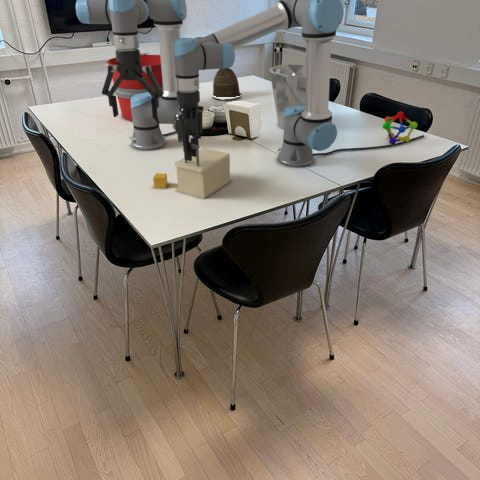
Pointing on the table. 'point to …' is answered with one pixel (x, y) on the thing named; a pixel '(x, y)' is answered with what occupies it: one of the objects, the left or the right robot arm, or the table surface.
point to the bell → (225, 84)
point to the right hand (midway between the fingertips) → (191, 158)
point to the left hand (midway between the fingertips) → (135, 116)
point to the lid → (202, 159)
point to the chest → (204, 179)
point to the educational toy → (398, 128)
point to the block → (160, 180)
